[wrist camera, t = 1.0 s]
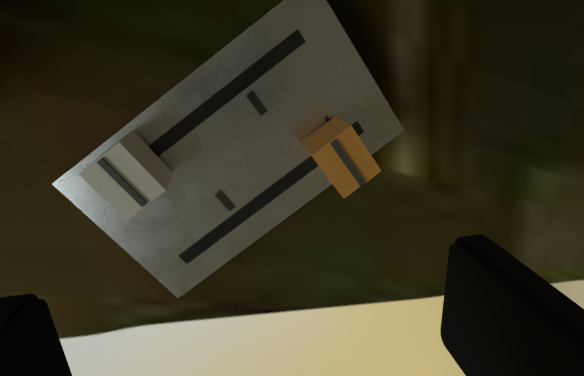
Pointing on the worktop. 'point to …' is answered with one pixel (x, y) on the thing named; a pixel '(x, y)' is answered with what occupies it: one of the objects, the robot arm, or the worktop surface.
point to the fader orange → (341, 156)
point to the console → (240, 143)
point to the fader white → (128, 175)
